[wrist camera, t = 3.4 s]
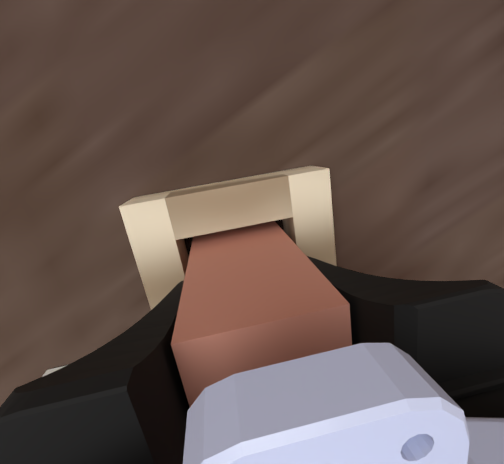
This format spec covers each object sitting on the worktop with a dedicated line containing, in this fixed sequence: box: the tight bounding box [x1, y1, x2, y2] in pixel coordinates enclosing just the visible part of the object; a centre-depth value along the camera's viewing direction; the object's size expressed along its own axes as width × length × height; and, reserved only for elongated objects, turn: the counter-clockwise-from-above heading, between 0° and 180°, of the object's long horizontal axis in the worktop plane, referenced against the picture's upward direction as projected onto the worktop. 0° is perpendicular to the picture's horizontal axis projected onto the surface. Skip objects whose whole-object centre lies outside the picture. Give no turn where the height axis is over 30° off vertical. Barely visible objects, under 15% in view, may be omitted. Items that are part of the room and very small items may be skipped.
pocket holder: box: [119, 166, 336, 310], centre depth 13 cm, size 8×8×2 cm
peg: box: [171, 221, 352, 407], centre depth 10 cm, size 4×4×8 cm
